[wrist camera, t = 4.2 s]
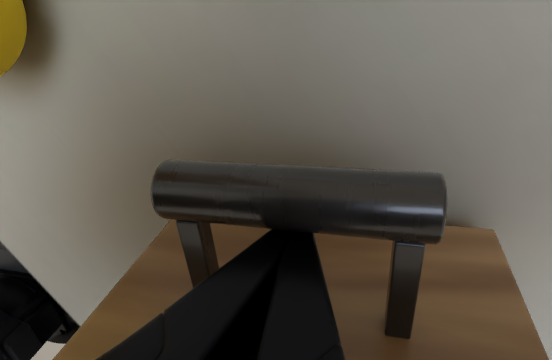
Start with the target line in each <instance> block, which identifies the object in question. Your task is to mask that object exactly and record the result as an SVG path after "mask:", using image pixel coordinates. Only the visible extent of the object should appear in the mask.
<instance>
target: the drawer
mask: <svg viewBox="0 0 552 360" xmlns="http://www.w3.org/2000/svg"><path fill="white" fill-rule="evenodd" d="M151 200H152V204H153V207H154V210H155V211H156V213H157V214H158V215H159V216H161V217H162V218H165V219H171V220H170V222H169V223H168V224H167V225H166V226H165V227H164V229H163V230H162V231H161V232H160V233H159V235H158V236H157V237H156V238H155V239H154V240H153V242H152V243H151V244H150V245H149V246H148V248H147V249H146V250H145V251H144V252H143V253H142V255H141V256H140V257H139V258H138V259H137V261H136V262H135V263H134V264H133V265H132V266H131V268H130V269H129V270H128V271H127V272H126V274H125V275H124V276H123V277H122V278H121V279H120V281H119V282H118V283H117V284H116V285H115V287H114V288H113V289H112V290H111V291H110V292H109V294H108V295H107V296H106V297H105V298H104V300H103V301H102V302H101V303H100V304H99V305H98V307H97V308H96V309H95V310H94V311H93V313H92V314H91V315H90V316H89V317H88V318H87V320H86V321H85V322H84V323H83V324H82V326H81V327H80V328H79V329H78V330H77V331H76V333H75V334H74V335H73V336H72V337H71V339H70V340H69V341H68V342H67V343H66V345H65V346H64V347H63V348H62V349H61V350H60V352H59V353H58V354H57V355H56V356H55V357H54V359H53V360H95V359H97V358H98V357H100V356H101V355H103V354H104V353H106V352H107V351H109V350H110V349H112V348H113V347H115V346H116V345H118V344H119V343H121V342H122V341H123V340H125V339H126V338H127V337H129V336H130V335H132V334H133V333H134V332H136V331H137V330H139V329H140V328H141V327H143V326H144V325H145V324H147V323H148V322H149V321H151V320H152V319H153V318H155V317H156V316H157V315H159V314H160V313H163V314H164V310H165V309H167V308H168V307H169V306H171V305H172V304H173V303H175V302H176V301H177V300H179V299H180V298H181V297H182V296H184V295H185V294H186V293H188V292H189V291H190V290H192V289H193V288H194V287H196V286H197V285H198V284H200V283H201V282H202V281H204V280H205V279H206V278H207V277H209V276H210V275H211V274H213V273H214V272H215V271H217V270H218V269H219V268H221V267H222V266H223V265H225V264H226V263H227V262H229V261H230V260H231V259H233V258H234V257H235V256H236V255H238V254H239V253H240V252H242V251H243V250H244V249H246V248H247V247H248V246H250V245H251V244H252V243H254V242H255V241H256V240H258V239H259V238H260V237H261V236H263V235H264V234H265V233H267V232H268V231H269V230H271V229H277V230H287V231H298V232H308V233H314V236H315V240H316V244H317V248H318V252H319V256H320V260H321V264H322V268H323V272H324V277H325V281H326V285H327V289H328V293H329V297H330V301H331V305H332V309H333V313H334V317H335V321H336V325H337V329H338V333H339V337H340V341H341V346H342V348H343V352H344V356H345V360H549V359H548V357H547V354H546V352H545V349H544V347H543V345H542V342H541V340H540V338H539V335H538V333H537V330H536V328H535V326H534V323H533V321H532V319H531V316H530V314H529V312H528V309H527V307H526V304H525V302H524V300H523V297H522V295H521V293H520V290H519V288H518V285H517V283H516V281H515V278H514V276H513V274H512V271H511V269H510V267H509V264H508V262H507V259H506V257H505V255H504V252H503V250H502V248H501V245H500V243H499V240H498V238H497V236H496V233H495V231H494V230H492V229H482V228H470V227H458V226H446V225H445V224H446V216H447V189H446V183H445V180H444V177H443V175H442V174H440V173H435V172H415V171H394V170H374V169H353V168H333V167H312V166H292V165H271V164H251V163H231V162H210V161H190V160H167V161H165V162H163V163H161V164H160V165H159V167H158V168H157V170H156V171H155V174H154V176H153V180H152V185H151Z"/></svg>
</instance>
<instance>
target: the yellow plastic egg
mask: <svg viewBox="0 0 552 360" xmlns="http://www.w3.org/2000/svg"><path fill="white" fill-rule="evenodd" d="M26 33H27V22H26V12H25V9H24V5H23V2H22V0H0V76H2V75H3V74H4V73H5V72H7V71H8V70H9V69H10V68H11V67H12V66H13V64H14V63H15V62H16V60H17V59H18V58H19V56H20V54H21V51H22V49H23V47H24V45H25V39H26Z"/></svg>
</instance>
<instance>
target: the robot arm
mask: <svg viewBox="0 0 552 360" xmlns="http://www.w3.org/2000/svg"><path fill="white" fill-rule="evenodd" d="M70 332H71V328H70V326H69V324H68V322H67V320H66V318H65V316H64V314H63V313H62V311H61V309H60V307H59V305H58V303H57V301H56V300H55V299H54V298H53V296H52V295H51V294H50V293H49V292H48V291H47V290H46V289H45V288H44V287H43V286H42V285H41V284H40V283H39V282H38V281H37V280H36V278H35V277H34V276H33V275H32V274H30V273H24V272H18V271H12V270H5V269H0V360H30V359H31V358H32V357H33V356H34V355H35V354H36V353H37V351H39V349H40V348H41V347H42V346H43V345H44V344H45V343H46V342H47V341H48V339H49V338H50V337H51V336H52V335H53V334H54V333H55V334H60V335H64V336H67V335H68V334H69V333H70ZM95 360H345V356H344V352H343V348H342V346H341V341H340V337H339V333H338V329H337V325H336V321H335V317H334V313H333V309H332V305H331V301H330V297H329V293H328V289H327V285H326V281H325V277H324V272H323V268H322V264H321V260H320V256H319V252H318V248H317V244H316V240H315V236H314V233H308V232H298V231H287V230H277V229H271V230H269V231H268V232H267V233H265V234H264V235H263V236H261V237H260V238H259V239H258V240H256V241H255V242H254V243H252V244H251V245H250V246H248V247H247V248H246V249H244V250H243V251H242V252H240V253H239V254H238V255H236V256H235V257H234V258H233V259H231V260H230V261H229V262H227V263H226V264H225V265H223V266H222V267H221V268H219V269H218V270H217V271H215V272H214V273H213V274H211V275H210V276H209V277H207V278H206V279H205V280H204V281H202V282H201V283H200V284H198V285H197V286H196V287H194V288H193V289H192V290H190V291H189V292H188V293H186V294H185V295H184V296H182V297H181V298H180V299H179V300H177V301H176V302H175V303H173V304H172V305H171V306H169V307H168V308H167V309H165V310H164V314H163V313H160V314H159V315H157V316H156V317H155V318H153V319H152V320H151V321H149V322H148V323H147V324H145V325H144V326H143V327H141V328H140V329H139V330H137V331H136V332H134V333H133V334H132V335H130V336H129V337H127V338H126V339H125V340H123V341H122V342H121V343H119V344H118V345H116V346H115V347H113V348H112V349H110V350H109V351H107V352H106V353H104V354H103V355H101V356H100V357H98V358H97V359H95Z"/></svg>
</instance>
